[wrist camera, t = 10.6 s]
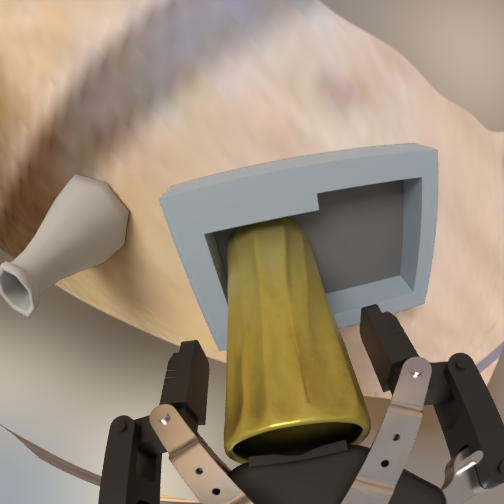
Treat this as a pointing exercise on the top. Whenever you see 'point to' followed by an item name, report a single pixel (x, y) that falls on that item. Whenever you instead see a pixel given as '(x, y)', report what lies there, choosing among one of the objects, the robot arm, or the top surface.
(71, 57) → the top surface
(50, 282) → the flask
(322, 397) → the vase
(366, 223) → the keyhole board
